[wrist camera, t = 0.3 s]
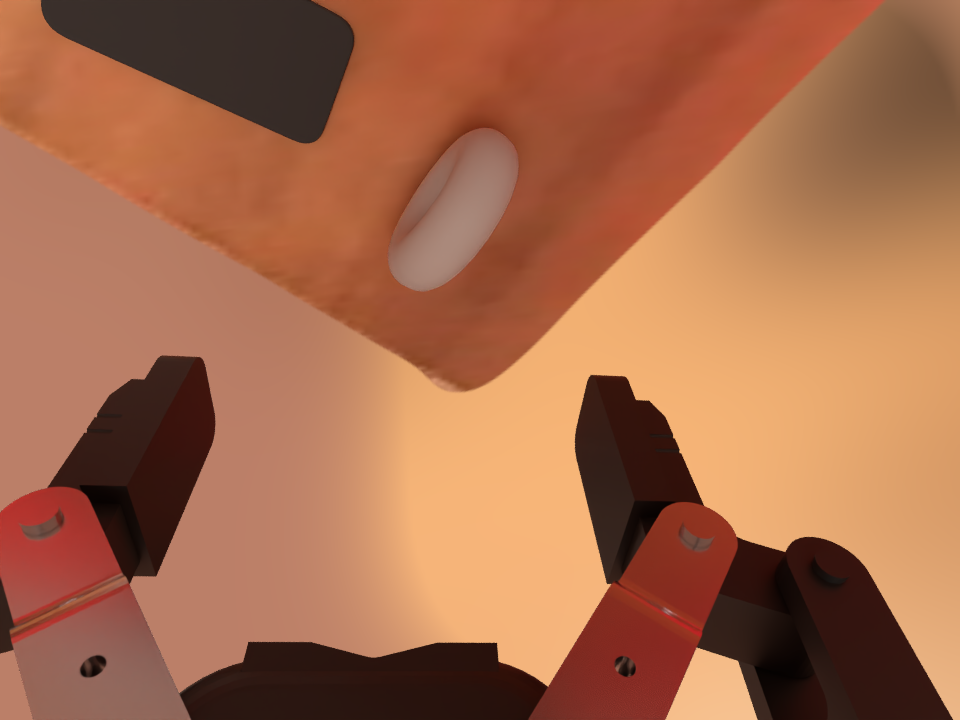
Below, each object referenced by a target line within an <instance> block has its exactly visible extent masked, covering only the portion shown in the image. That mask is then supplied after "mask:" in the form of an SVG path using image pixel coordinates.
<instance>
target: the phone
mask: <svg viewBox="0 0 960 720" xmlns="http://www.w3.org/2000/svg"><path fill="white" fill-rule="evenodd" d="M41 7H42V12H43V16H44V18H45V20H46V21H47V23H48V24H49V26H50V27H51V28H52V29H53V30H55V31H56V32H57V33H59V34H60V35H62V36H64V37H66V38H68V39H70V40H72V41H74V42H77V43H79V44H81V45H83V46H85V47H88V48H90V49H92V50H94V51H96V52H99V53H101V54H103V55H105V56H108V57H110V58H112V59H114V60H116V61H119V62H121V63H123V64H125V65H128V66H130V67H132V68H134V69H136V70H139V71H141V72H143V73H145V74H148V75H150V76H152V77H154V78H156V79H159V80H161V81H163V82H165V83H168V84H170V85H172V86H174V87H176V88H179V89H181V90H183V91H185V92H188V93H190V94H192V95H194V96H196V97H199V98H201V99H203V100H205V101H208V102H210V103H212V104H214V105H216V106H219V107H221V108H223V109H225V110H228V111H230V112H232V113H234V114H236V115H239V116H241V117H243V118H245V119H248V120H250V121H252V122H254V123H256V124H259V125H261V126H263V127H265V128H268V129H270V130H272V131H274V132H276V133H279V134H281V135H283V136H285V137H288V138H290V139H292V140H295V141H297V142H301V143H312V142H314V141H316V140H317V139H318V138H319V137H320V136H321V134H322V132H323V130H324V127H325V125H326V122H327V119H328V117H329V114H330V111H331V108H332V105H333V103H334V100H335V97H336V94H337V91H338V89H339V86H340V83H341V80H342V77H343V75H344V72H345V69H346V66H347V63H348V60H349V58H350V55H351V52H352V49H353V44H354V36H353V31H352V29H351V27H350V25H349V24H348V23H347V22H346V21H345V20H344V19H343V18H342V17H340V16H339V15H337V14H335V13H333V12H332V11H330V10H328V9H326V8H324V7H322V6H320V5H318V4H316V3H315V2H313V1H311V0H41Z"/></svg>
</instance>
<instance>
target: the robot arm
mask: <svg viewBox="0 0 960 720" xmlns="http://www.w3.org/2000/svg"><path fill="white" fill-rule="evenodd" d="M214 434H215V413H214V408H213V403H212V398H211V394H210V388H209V383H208V378H207V372H206V367H205V364H204V361H203V359H202V358H200V357H184V356H160V357H159V358H158V359H157V360H156V362H155V364H154V365H153V367H152V368H151V370H150V372H149V373H148V375H147V377H146V378H145V380H140V379H139V380H138V379H131V380H130V381H128V382H127V383H126V384H124V385H123V386H122V387H120V388H119V389H117V390H116V391H115V392H113V393H112V394H111V395H109V397H108V398H107V400H106V401H105V403H104V404H103V406H102V407H101V409H100V410H99V412H98V413H97V417H95V418H94V420H93V421H92V422H91V424H90V425H89V427H88V428H87V433H84V434H83V436H82V437H81V438H80V440H79V441H78V443H77V444H76V446H75V448H74V449H73V450H72V452H71V454H70V455H69V456H68V458H67V459H66V461H65V462H64V464H63V465H62V467H61V468H60V470H59V471H58V473H57V474H56V476H55V477H54V479H53V480H52V482H51V483H50V485H49V486H48V488H45V489H41V490H38V491H34V492H31V493H29V494H27V495H24V496H22V497H20V498H19V499H17V500H15V501H13V502H12V503H11V504H9V505H8V506H7V507H5V508H4V509H3V510H2V511H1V512H0V653H4V652H7V651H11V650H14V652H15V656H16V660H17V663H18V667H19V671H20V674H21V678H22V681H23V685H24V689H25V692H26V696H27V699H28V703H29V706H30V710H31V713H32V717H33V720H665V719H666V717H667V715H668V712H669V710H670V708H671V705H672V703H673V701H674V698H675V696H676V694H677V692H678V689H679V687H680V685H681V682H682V680H683V678H684V675H685V673H686V670H687V668H688V666H689V664H690V661H691V659H692V657H693V654H694V652H695V650H696V648H700V649H703V650H706V651H710V652H713V653H716V654H719V655H722V656H725V657H728V658H731V659H734V660H738V662H739V665H740V668H741V671H742V674H743V677H744V680H745V682H746V685H747V689H748V692H749V695H750V698H751V701H752V704H753V707H754V710H755V713H756V716H757V719H758V720H953V719H952V717H951V716H950V714H949V712H948V710H947V708H946V707H945V705H944V703H943V701H942V700H941V698H940V696H939V694H938V693H937V691H936V689H935V687H934V686H933V684H932V682H931V680H930V679H929V677H928V675H927V673H926V672H925V670H924V668H923V666H922V665H921V663H920V661H919V660H918V658H917V656H916V654H915V653H914V651H913V649H912V647H911V645H910V644H909V642H908V640H907V639H906V637H905V635H904V633H903V631H902V630H901V628H900V626H899V625H898V623H897V621H896V619H895V618H894V616H893V614H892V612H891V610H890V609H889V607H888V605H887V603H886V602H885V600H884V598H883V596H882V595H881V593H880V591H879V589H878V588H877V586H876V584H875V582H874V581H873V579H872V577H871V575H870V574H869V572H868V570H867V569H866V568H865V566H864V565H863V564H862V563H861V562H860V560H859V559H857V558H856V557H855V556H854V555H853V554H852V553H850V552H849V551H848V550H846V549H845V548H843V547H841V546H839V545H837V544H835V543H833V542H831V541H828V540H825V539H821V538H816V537H803V538H799V539H797V540H795V541H793V542H792V543H791V544H790V545H789V547H788V548H787V550H786V552H783V551H779V550H776V549H772V548H769V547H765V546H762V545H758V544H755V543H751V542H748V541H745V540H743V539H740V538H738V537H736V534H735V532H734V530H733V528H732V527H731V525H730V524H729V523H728V522H727V521H726V520H725V519H724V518H723V517H722V516H720V515H719V514H718V513H716V512H715V511H713V510H711V509H710V508H707V507H705V506H704V505H703V502H702V500H701V498H700V495H699V493H698V491H697V488H696V486H695V484H694V482H693V479H692V477H691V475H690V473H689V470H688V468H687V466H686V463H685V461H684V459H683V457H682V454H681V453H679V447H678V445H677V443H676V440H675V439H674V438H673V433H672V431H671V429H670V427H669V424H668V422H667V420H666V418H665V416H664V415H663V414H662V413H661V412H660V411H659V410H658V409H657V408H656V407H655V406H654V405H653V404H652V403H651V402H650V401H642V400H636V399H635V397H634V394H633V392H632V389H631V386H630V384H629V381H628V379H627V378H626V377H623V376H601V375H591V376H590V377H589V379H588V381H587V385H586V389H585V393H584V398H583V402H582V406H581V410H580V415H579V419H578V424H577V428H576V434H575V452H576V459H577V463H578V466H579V471H580V475H581V479H582V483H583V487H584V491H585V496H586V500H587V504H588V508H589V512H590V516H591V520H592V524H593V528H594V533H595V537H596V540H597V545H598V549H599V553H600V557H601V561H602V565H603V570H604V573H605V578H606V582H607V584H611V586H610V587H609V589H608V590H607V592H606V593H605V595H604V597H603V598H602V600H601V602H600V603H599V605H598V607H597V608H596V610H595V612H594V613H593V615H592V616H591V618H590V620H589V621H588V623H587V624H586V626H585V628H584V629H583V631H582V633H581V634H580V636H579V638H578V639H577V641H576V642H575V644H574V646H573V647H572V649H571V651H570V652H569V654H568V656H567V657H566V659H565V660H564V662H563V664H562V665H561V667H560V669H559V670H558V672H557V673H556V675H555V677H554V678H553V680H552V682H551V683H550V685H549V687H548V686H546V685H545V684H543V683H542V682H540V681H539V680H538V679H536V678H535V677H533V676H531V675H530V674H527V673H526V672H524V671H522V670H520V669H517V668H515V667H512V666H510V665H507V664H503V663H500V662H498V650H497V643H434V644H430V645H426V646H422V647H418V648H414V649H410V650H407V651H403V652H398V653H394V654H390V655H386V656H382V657H377V658H371V657H366V656H362V655H358V654H354V653H350V652H346V651H343V650H339V649H335V648H331V647H327V646H324V645H320V644H316V643H312V642H248V646H247V650H246V654H245V658H244V661H243V662H242V663H239V664H235V665H232V666H229V667H227V668H223V669H221V670H218V671H216V672H214V673H212V674H210V675H208V676H206V677H204V678H202V679H200V680H198V681H197V682H195V683H194V684H192V685H190V686H189V687H187V688H186V689H185V690H183V691H182V692H180V693H179V692H178V690H177V688H176V686H175V683H174V681H173V679H172V677H171V675H170V673H169V670H168V668H167V666H166V664H165V662H164V659H163V657H162V655H161V653H160V650H159V648H158V646H157V644H156V642H155V639H154V637H153V635H152V633H151V631H150V628H149V626H148V624H147V622H146V620H145V617H144V615H143V613H142V611H141V609H140V606H139V604H138V602H137V600H136V598H135V595H134V593H133V591H132V589H131V587H130V582H131V580H132V578H133V576H157V573H158V571H159V569H160V566H161V564H162V562H163V559H164V557H165V554H166V552H167V550H168V547H169V545H170V543H171V540H172V538H173V535H174V533H175V531H176V528H177V526H178V524H179V521H180V519H181V517H182V514H183V512H184V510H185V507H186V505H187V502H188V500H189V498H190V495H191V493H192V491H193V488H194V486H195V484H196V481H197V479H198V476H199V474H200V472H201V469H202V467H203V465H204V462H205V460H206V458H207V455H208V453H209V450H210V448H211V446H212V443H213V439H214Z"/></svg>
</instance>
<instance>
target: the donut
mask: <svg viewBox="0 0 960 720" xmlns="http://www.w3.org/2000/svg"><path fill="white" fill-rule="evenodd" d="M518 166H519V163H518V154H517V151H516V149H515V147H514V145H513V144H512V143H511V141H510V140H509V139H508V138H507V137H506V136H505V135H503V134H502V133H501V132H499V131H497V130H495V129H492V128H486V127H484V128H478V129H474V130H472V131H470V132H468V133H466V134H464V135H462V136H461V137H460V138H458V139H457V140H456V141H455V142H454V143H453V144H452V145H451V146H450V147H449V148H448V149H447V150H446V151H445V152H444V154H443V155H442V156H441V157H440V158H439V160H438V161H437V162H436V163H435V165H434V166H433V167H432V168H431V170H430V171H429V172H428V174H427V175H426V177H425V178H424V180H423V181H422V183H421V184H420V185H419V187H418V188H417V190H416V192H415V193H414V195H413V196H412V198H411V200H410V201H409V203H408V205H407V206H406V208H405V210H404V212H403V214H402V215H401V217H400V219H399V221H398V223H397V225H396V228H395V230H394V232H393V234H392V237H391V240H390V244H389V249H388V264H389V268H390V271H391V273H392V275H393V277H394V278H395V279H396V280H397V281H398V282H399V283H400V284H402V285H404V286H406V287H408V288H410V289H413V290H415V291H428V290H432V289H435V288H437V287H440V286H442V285H444V284H445V283H447V282H448V281H450V280H451V279H452V278H453V277H455V276H456V275H457V274H458V273H460V272H461V271H462V270H463V269H464V268H465V267H466V266H467V264H468V263H469V262H470V261H471V260H472V259H473V258H474V257H475V256H476V255H477V253H478V252H479V251H480V249H481V248H482V247H483V245H484V244H485V243H486V241H487V240H488V239H489V237H490V236H491V234H492V232H493V231H494V229H495V228H496V226H497V224H498V223H499V221H500V220H501V218H502V216H503V214H504V212H505V210H506V208H507V206H508V204H509V202H510V200H511V197H512V194H513V191H514V188H515V185H516V182H517V178H518Z"/></svg>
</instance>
